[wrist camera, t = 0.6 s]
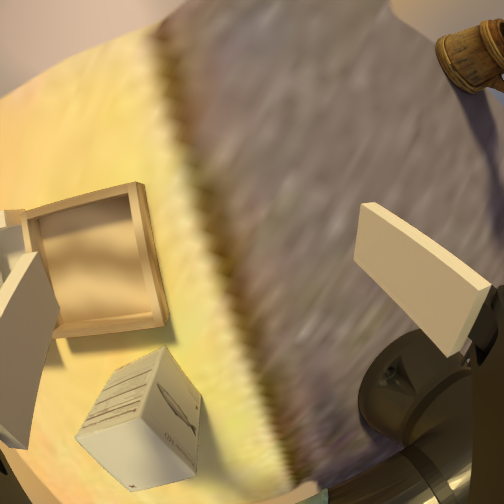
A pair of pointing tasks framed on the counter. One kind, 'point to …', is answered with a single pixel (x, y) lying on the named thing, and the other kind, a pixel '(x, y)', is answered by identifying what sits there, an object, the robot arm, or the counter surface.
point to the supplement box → (145, 423)
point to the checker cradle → (10, 241)
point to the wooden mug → (474, 56)
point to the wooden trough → (99, 261)
